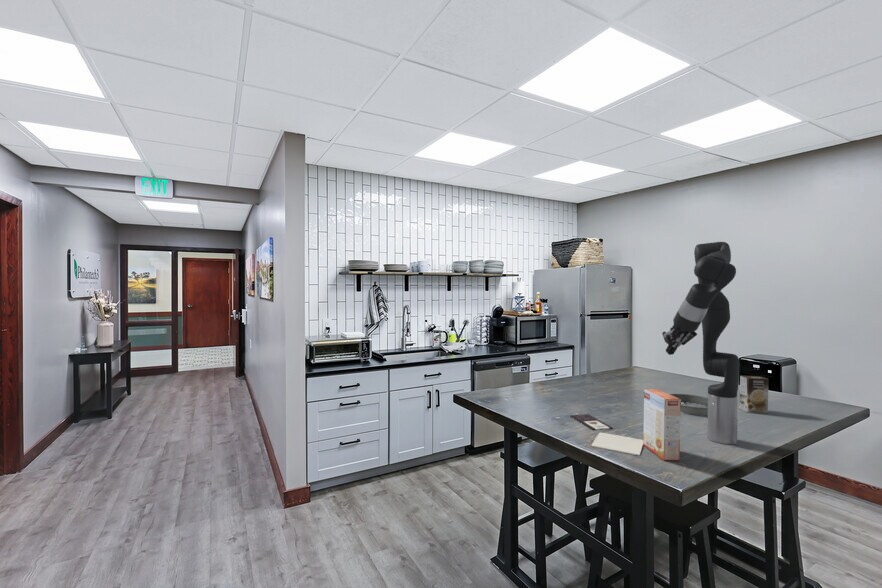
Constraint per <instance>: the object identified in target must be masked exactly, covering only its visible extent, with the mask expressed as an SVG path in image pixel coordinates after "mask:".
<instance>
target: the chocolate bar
mask: <svg viewBox="0 0 882 588" xmlns="http://www.w3.org/2000/svg"><path fill="white" fill-rule="evenodd" d="M569 417H570V418H572V419H573V418H574V419H573V420H575V421H576V422H578V423H579V424H581V423H582V424H581V425H583V426H585V427H587V428H588V429H590V430H592V431H599V430H600V429H602V430H611V429H613V427H612V426H611V425H609V424H607V423H605V422H603V421H601V420H600V419H598V418H596V417H594V416H592V415H591V414H589V413H587V414H572V415H569Z"/></svg>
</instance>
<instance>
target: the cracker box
mask: <svg viewBox="0 0 882 588" xmlns="http://www.w3.org/2000/svg"><path fill="white" fill-rule="evenodd" d="M670 394H671V393H667V392H666V391H663V390H661V389H659V388H658V389H657V388H656V389H655V388H651V389H650V388H649V389H647V388H646V389H644V390H643V439H642V440H643V447H645V448H646V449H648V450H650V451H651V452H652V453H653V454H654V455H656V456H657V457H658V458H660V459H661V460H662V461H680V459H681V458H680V457H681V456H680V454H681V418H682V417H681V414H682V413H681V399H679V398H677V397H674V396H672V395H670Z"/></svg>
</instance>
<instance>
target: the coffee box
mask: <svg viewBox="0 0 882 588" xmlns="http://www.w3.org/2000/svg"><path fill="white" fill-rule="evenodd" d="M769 381H770V380H769V378H767V377H764V376H760V375H739V400H738V401H739V406H738V408H739V410H742V411H743V412H746V413H754V414H755V413H757V414H768V413H769V412H768V411H769V384H770V383H769Z"/></svg>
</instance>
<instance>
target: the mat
mask: <svg viewBox="0 0 882 588" xmlns="http://www.w3.org/2000/svg"><path fill="white" fill-rule="evenodd" d="M590 447H593V448H597V449H601V450H602V449H603V450H607V451H612V452H617V453H623V454H628V455H633V456H638V457H640V456H641V454H642V449H643V447H644V445H643V439H640V438H639V439H638V438H634V437H628V436H623V435H622V436H621V435H617V434H611V433H606V432H601V431H600V432H599V433H598V434H597V435H596V437H595V439H594V440H593V442H592V444H590Z"/></svg>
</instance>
